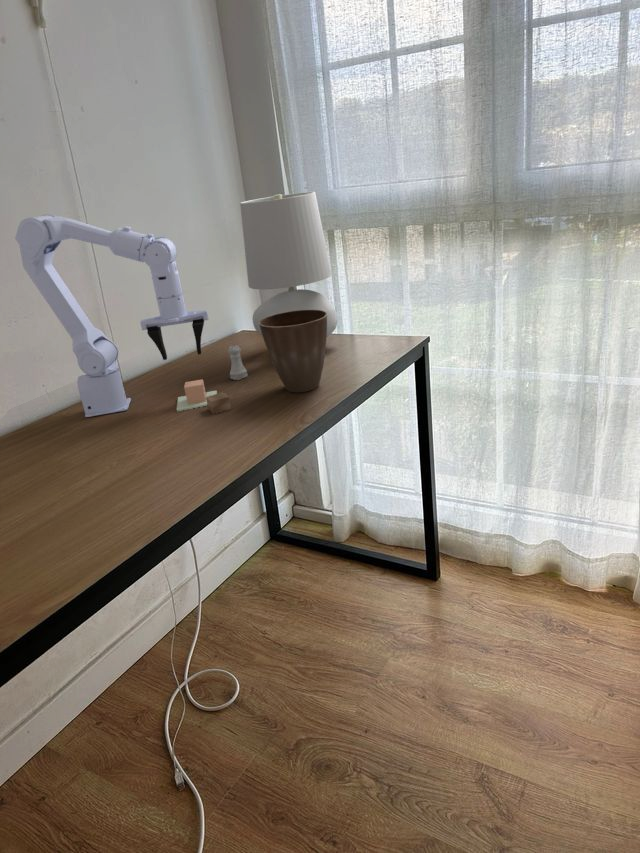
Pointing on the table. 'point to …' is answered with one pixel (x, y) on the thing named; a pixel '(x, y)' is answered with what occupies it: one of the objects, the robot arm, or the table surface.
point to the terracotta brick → (195, 391)
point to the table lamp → (286, 254)
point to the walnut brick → (218, 402)
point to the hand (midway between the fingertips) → (182, 356)
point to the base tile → (184, 405)
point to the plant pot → (297, 346)
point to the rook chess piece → (236, 364)
